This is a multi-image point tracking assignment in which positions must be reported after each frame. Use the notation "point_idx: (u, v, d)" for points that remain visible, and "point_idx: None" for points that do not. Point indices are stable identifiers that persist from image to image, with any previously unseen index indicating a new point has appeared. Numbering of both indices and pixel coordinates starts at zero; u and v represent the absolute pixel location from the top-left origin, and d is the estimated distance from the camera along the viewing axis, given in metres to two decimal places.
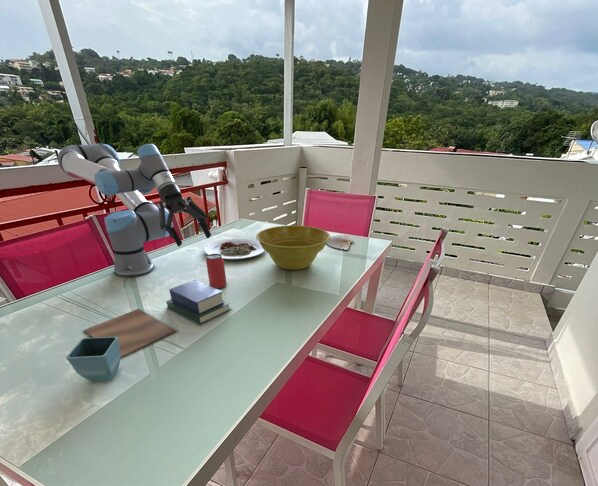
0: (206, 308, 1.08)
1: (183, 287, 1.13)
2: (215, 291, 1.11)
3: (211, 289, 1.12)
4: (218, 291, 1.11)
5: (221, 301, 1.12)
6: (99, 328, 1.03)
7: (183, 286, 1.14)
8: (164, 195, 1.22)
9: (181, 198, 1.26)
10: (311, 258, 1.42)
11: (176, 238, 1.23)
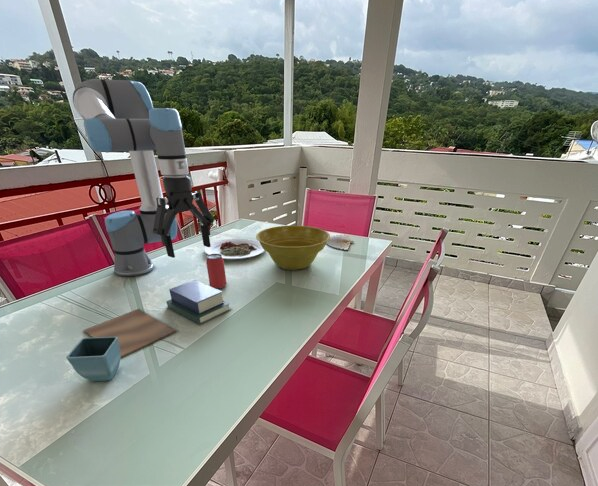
0: (206, 308, 1.08)
1: (183, 287, 1.13)
2: (215, 291, 1.11)
3: (211, 289, 1.12)
4: (218, 291, 1.11)
5: (221, 301, 1.12)
6: (99, 328, 1.03)
7: (183, 286, 1.14)
8: (170, 190, 0.92)
9: (189, 194, 0.97)
10: (311, 258, 1.42)
11: (169, 248, 0.98)
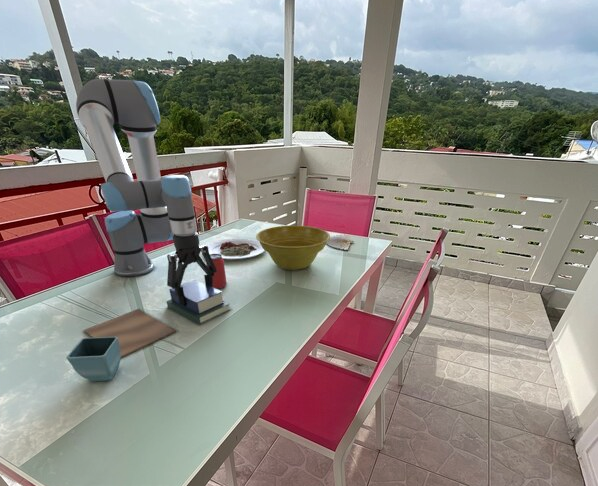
0: (206, 308, 1.08)
1: (183, 287, 1.13)
2: (215, 291, 1.11)
3: (211, 289, 1.12)
4: (218, 291, 1.11)
5: (221, 301, 1.12)
6: (99, 328, 1.03)
7: (183, 286, 1.14)
8: (179, 246, 0.99)
9: (197, 247, 1.04)
10: (311, 258, 1.42)
11: (181, 298, 1.07)
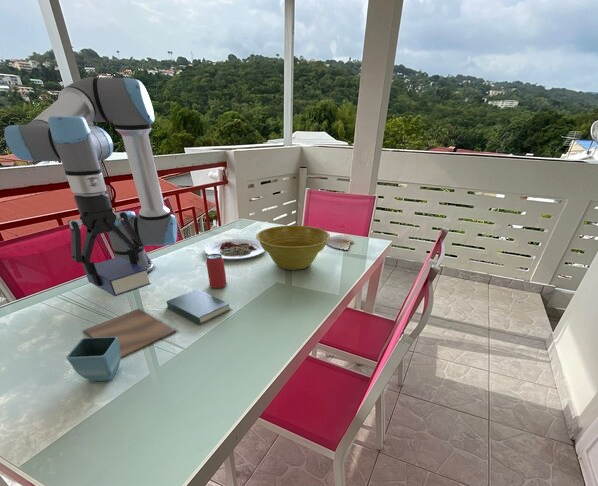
0: (125, 289, 0.89)
1: (101, 264, 0.93)
2: (138, 269, 0.91)
3: (134, 266, 0.92)
4: (142, 269, 0.91)
5: (147, 281, 0.93)
6: (99, 328, 1.03)
7: (102, 263, 0.94)
8: (82, 209, 0.79)
9: (110, 213, 0.85)
10: (311, 258, 1.42)
11: (94, 276, 0.88)
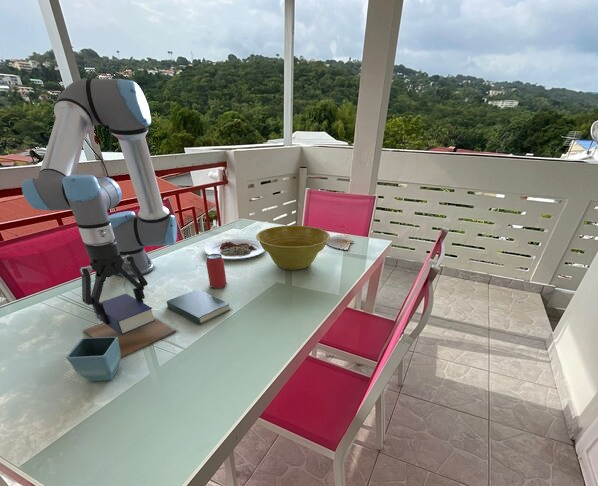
0: (132, 327, 0.95)
1: (109, 302, 0.99)
2: (143, 307, 0.97)
3: (140, 305, 0.98)
4: (147, 307, 0.97)
5: (152, 318, 0.99)
6: (99, 328, 1.03)
7: (109, 301, 1.00)
8: (93, 257, 0.85)
9: (118, 258, 0.91)
10: (311, 258, 1.42)
11: (102, 316, 0.94)
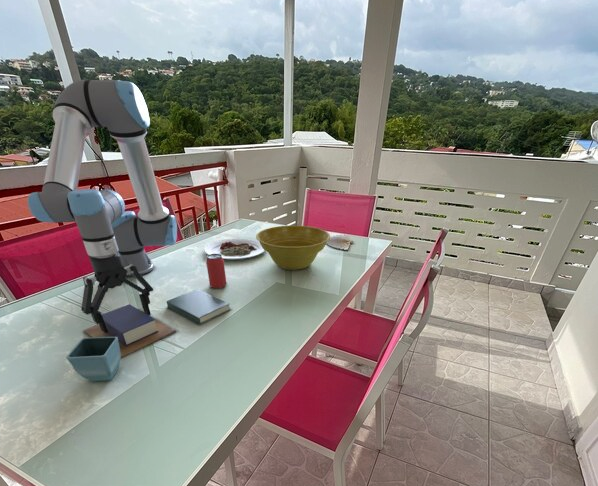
0: (135, 338, 0.97)
1: (113, 313, 1.01)
2: (146, 319, 0.99)
3: (143, 316, 1.00)
4: (150, 319, 0.99)
5: (155, 329, 1.01)
6: (99, 328, 1.03)
7: (113, 312, 1.02)
8: (97, 269, 0.87)
9: (122, 269, 0.93)
10: (311, 258, 1.42)
11: (101, 324, 0.94)
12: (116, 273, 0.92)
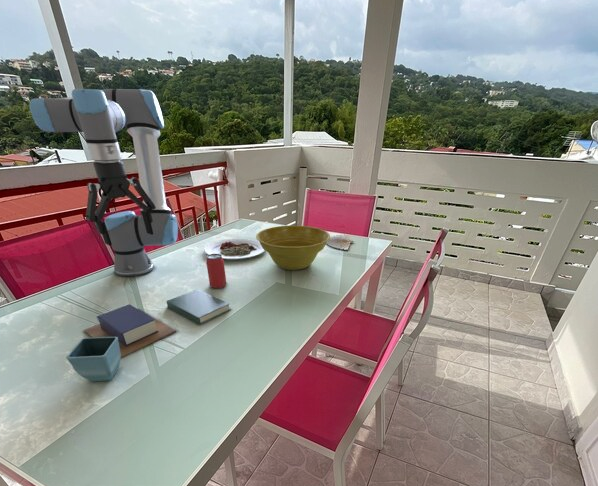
0: (135, 338, 0.97)
1: (113, 313, 1.01)
2: (146, 319, 0.99)
3: (143, 316, 1.00)
4: (150, 319, 0.99)
5: (155, 329, 1.01)
6: (99, 328, 1.03)
7: (113, 312, 1.02)
8: (101, 175, 0.89)
9: (125, 180, 0.94)
10: (311, 258, 1.42)
11: (105, 236, 0.97)
12: (119, 183, 0.94)
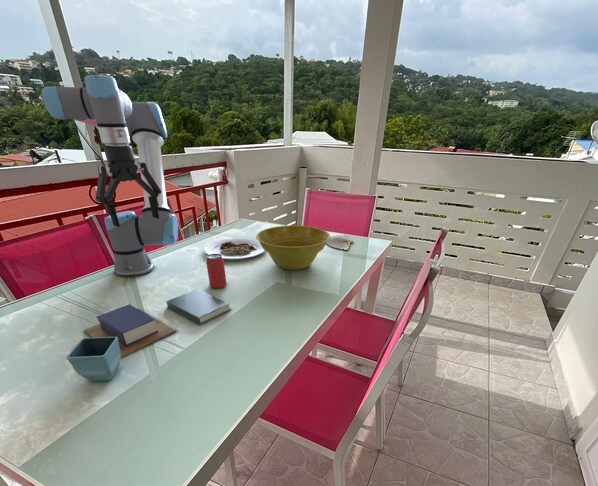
0: (135, 338, 0.97)
1: (113, 313, 1.01)
2: (146, 319, 0.99)
3: (143, 316, 1.00)
4: (150, 319, 0.99)
5: (155, 329, 1.01)
6: (99, 328, 1.03)
7: (113, 312, 1.02)
8: (111, 158, 0.94)
9: (133, 164, 0.99)
10: (311, 258, 1.42)
11: (113, 217, 1.01)
12: (128, 166, 0.98)
